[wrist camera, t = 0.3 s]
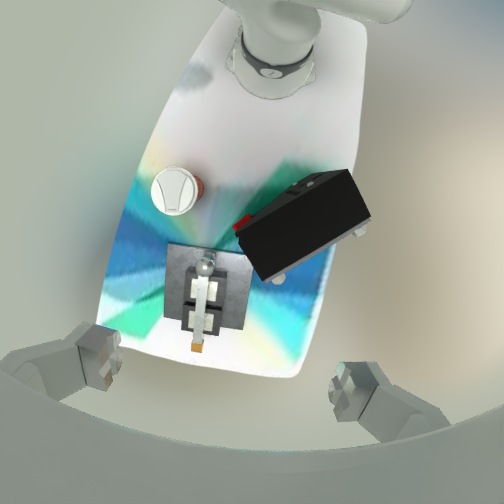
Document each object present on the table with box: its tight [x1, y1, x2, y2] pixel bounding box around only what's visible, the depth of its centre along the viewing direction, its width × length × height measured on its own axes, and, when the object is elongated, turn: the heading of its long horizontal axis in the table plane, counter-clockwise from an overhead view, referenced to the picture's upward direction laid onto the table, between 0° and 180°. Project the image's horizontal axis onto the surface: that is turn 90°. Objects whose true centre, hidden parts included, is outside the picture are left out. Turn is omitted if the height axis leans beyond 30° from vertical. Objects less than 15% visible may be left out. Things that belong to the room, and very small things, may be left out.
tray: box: [164, 242, 253, 336], centre depth 55 cm, size 17×18×6 cm
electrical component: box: [232, 169, 371, 284], centre depth 45 cm, size 18×10×20 cm, turn 121°
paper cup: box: [151, 166, 203, 215], centre depth 46 cm, size 8×8×14 cm
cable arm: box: [191, 257, 215, 353], centre depth 51 cm, size 20×3×2 cm, turn 171°
